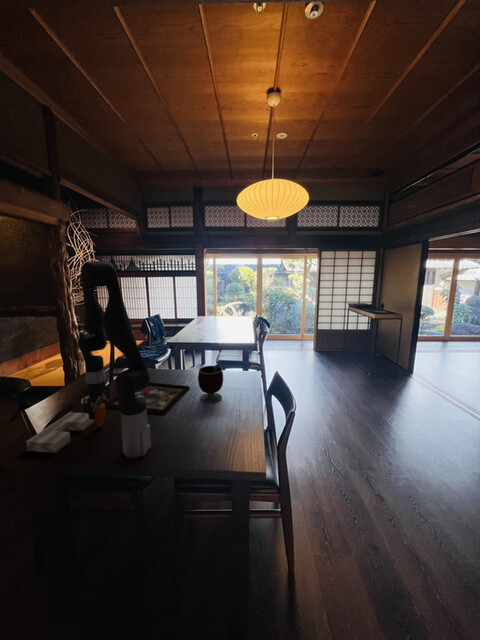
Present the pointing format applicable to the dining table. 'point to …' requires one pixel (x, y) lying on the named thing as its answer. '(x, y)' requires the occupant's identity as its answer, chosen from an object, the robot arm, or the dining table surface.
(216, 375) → the mate gourd
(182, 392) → the framed painting
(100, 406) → the carrot
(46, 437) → the notched board
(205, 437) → the dining table surface
